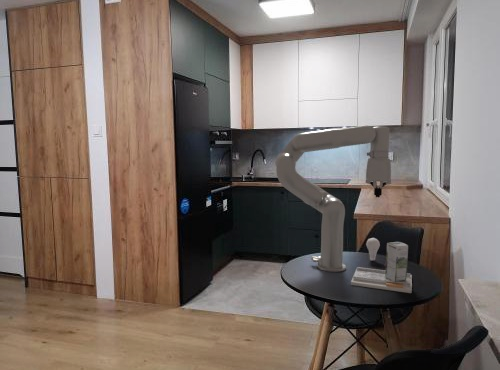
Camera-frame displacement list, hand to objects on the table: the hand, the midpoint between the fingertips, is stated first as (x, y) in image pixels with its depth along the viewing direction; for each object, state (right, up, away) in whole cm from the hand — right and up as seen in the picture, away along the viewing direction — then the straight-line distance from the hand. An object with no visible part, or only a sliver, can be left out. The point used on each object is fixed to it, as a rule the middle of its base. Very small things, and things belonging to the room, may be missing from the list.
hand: (377, 197), depth 164 cm
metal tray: (-3, -32, -14) cm, 35 cm away
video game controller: (+7, -33, 0) cm, 33 cm away
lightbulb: (+2, -31, +14) cm, 34 cm away
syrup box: (+2, -32, -16) cm, 36 cm away
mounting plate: (-3, -34, -13) cm, 36 cm away
